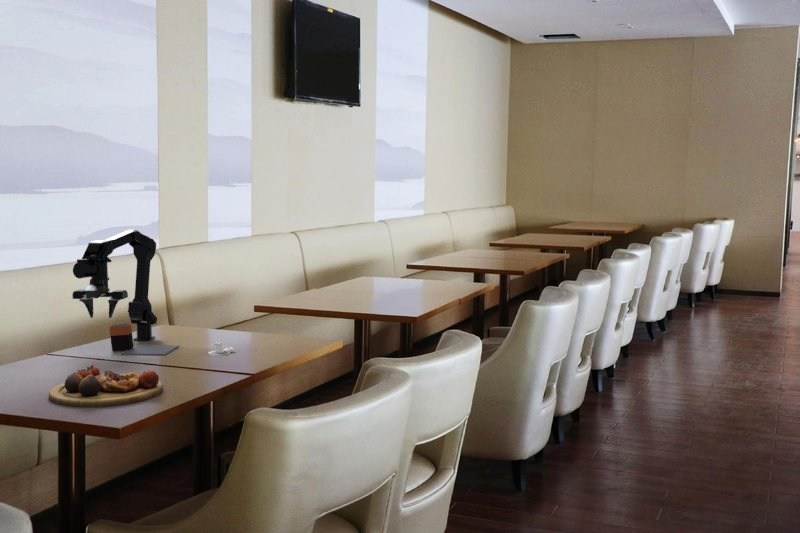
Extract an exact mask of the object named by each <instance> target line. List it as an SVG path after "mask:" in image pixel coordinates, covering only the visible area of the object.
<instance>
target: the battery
mask: <svg viewBox="0 0 800 533" xmlns="http://www.w3.org/2000/svg"><path fill="white" fill-rule="evenodd" d="M109 335H110V344H111V350H112V352H117V351H118V352H119V351H127V350H130V349H132V348H133V347H134V337H133V331H132V323H128V321H123V322H122V321H121V322H120V323H118V322H114V323H113V324H112V325H110V326H109Z"/></svg>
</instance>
